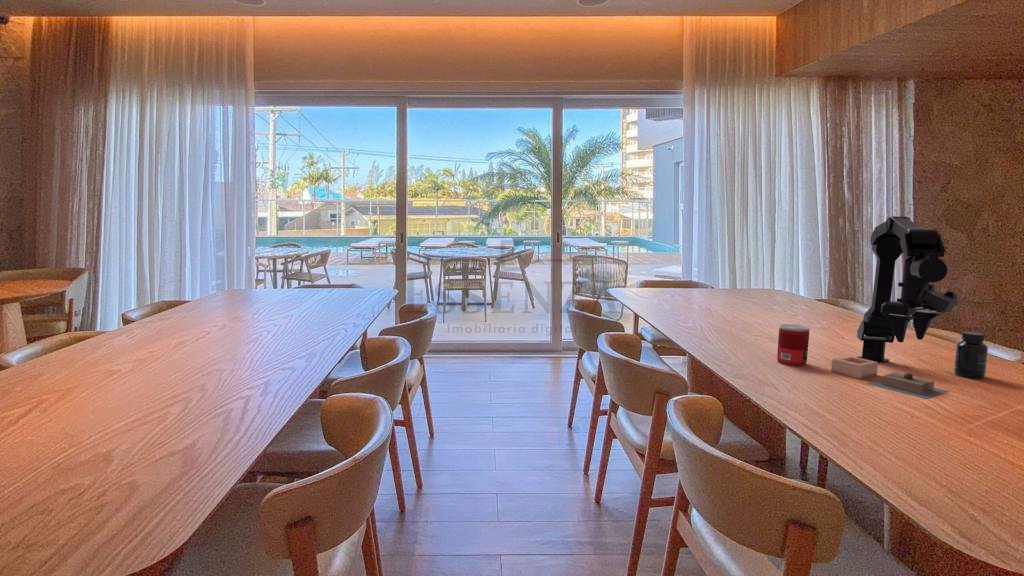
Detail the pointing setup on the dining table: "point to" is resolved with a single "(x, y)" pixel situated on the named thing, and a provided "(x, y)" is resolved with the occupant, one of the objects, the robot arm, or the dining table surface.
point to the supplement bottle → (971, 356)
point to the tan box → (854, 367)
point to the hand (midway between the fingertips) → (910, 340)
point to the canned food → (793, 344)
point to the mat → (924, 395)
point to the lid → (908, 382)
